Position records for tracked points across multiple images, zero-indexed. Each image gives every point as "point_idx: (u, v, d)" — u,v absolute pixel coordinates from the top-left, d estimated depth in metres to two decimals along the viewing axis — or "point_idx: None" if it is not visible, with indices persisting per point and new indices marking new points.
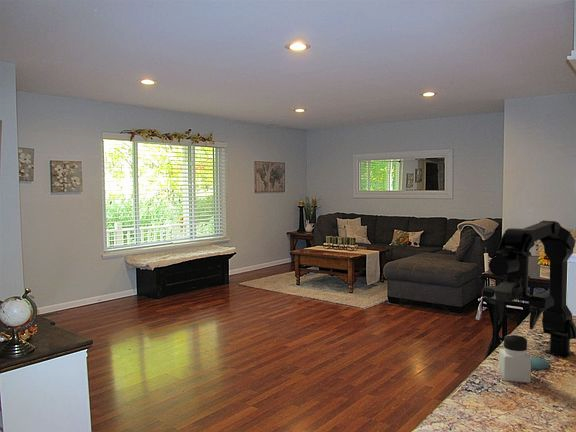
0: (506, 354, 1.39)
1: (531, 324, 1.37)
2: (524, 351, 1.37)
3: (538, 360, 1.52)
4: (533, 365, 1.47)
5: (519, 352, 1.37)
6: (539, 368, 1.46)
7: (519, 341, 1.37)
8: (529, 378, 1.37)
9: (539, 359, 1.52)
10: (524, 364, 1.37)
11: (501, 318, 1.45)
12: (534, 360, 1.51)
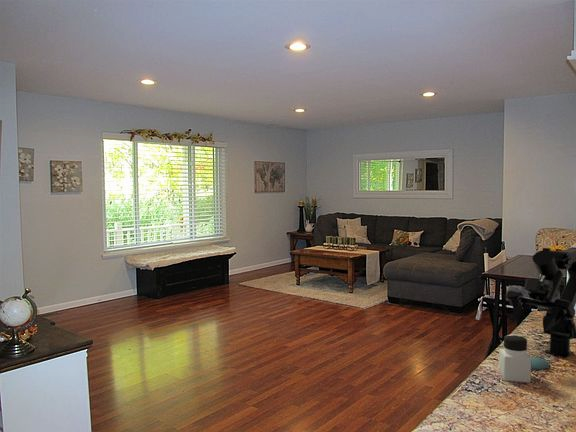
0: (506, 354, 1.39)
1: (547, 324, 1.41)
2: (524, 351, 1.37)
3: (538, 360, 1.52)
4: (533, 365, 1.47)
5: (519, 352, 1.37)
6: (539, 368, 1.46)
7: (519, 341, 1.37)
8: (529, 378, 1.37)
9: (539, 359, 1.52)
10: (524, 364, 1.37)
11: (515, 320, 1.48)
12: (534, 360, 1.51)
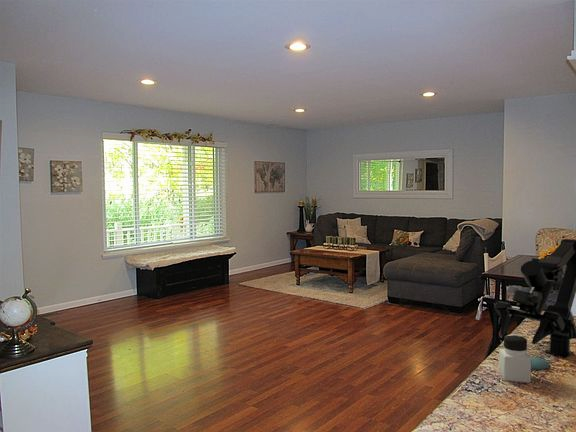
0: (506, 354, 1.39)
1: (535, 337, 1.37)
2: (524, 351, 1.37)
3: (538, 360, 1.52)
4: (533, 365, 1.47)
5: (519, 352, 1.37)
6: (539, 368, 1.46)
7: (519, 341, 1.37)
8: (529, 378, 1.37)
9: (539, 359, 1.52)
10: (524, 364, 1.37)
11: (504, 332, 1.44)
12: (534, 360, 1.51)
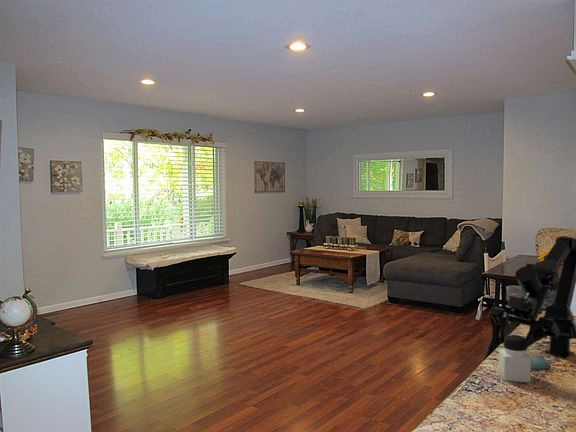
0: (506, 354, 1.39)
1: (525, 342, 1.36)
2: (524, 351, 1.37)
3: (538, 360, 1.52)
4: (533, 365, 1.47)
5: (519, 352, 1.37)
6: (539, 368, 1.46)
7: (519, 341, 1.37)
8: (529, 378, 1.37)
9: (539, 359, 1.52)
10: (524, 364, 1.37)
11: (503, 340, 1.42)
12: (534, 360, 1.51)
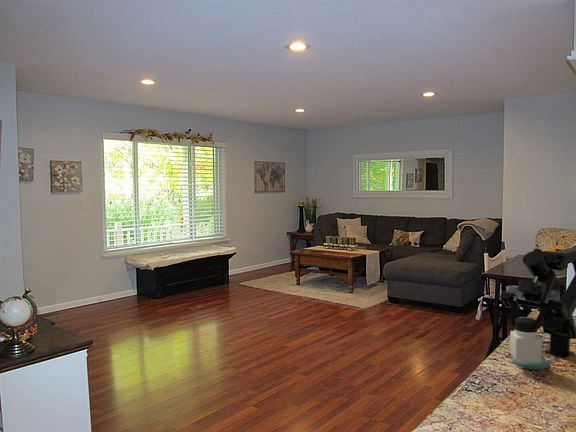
0: (517, 336, 1.45)
1: (535, 324, 1.42)
2: (535, 332, 1.43)
3: None
4: (533, 365, 1.47)
5: (530, 333, 1.43)
6: (539, 368, 1.46)
7: (529, 323, 1.43)
8: (540, 358, 1.42)
9: None
10: (535, 345, 1.42)
11: (514, 322, 1.48)
12: None
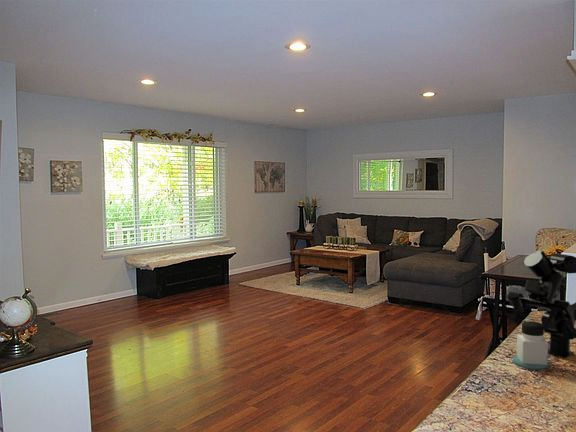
0: (524, 339, 1.49)
1: (546, 324, 1.46)
2: (541, 336, 1.48)
3: None
4: (533, 365, 1.47)
5: (536, 337, 1.48)
6: (539, 368, 1.46)
7: (536, 327, 1.48)
8: (546, 361, 1.47)
9: None
10: (541, 348, 1.47)
11: (516, 320, 1.53)
12: None
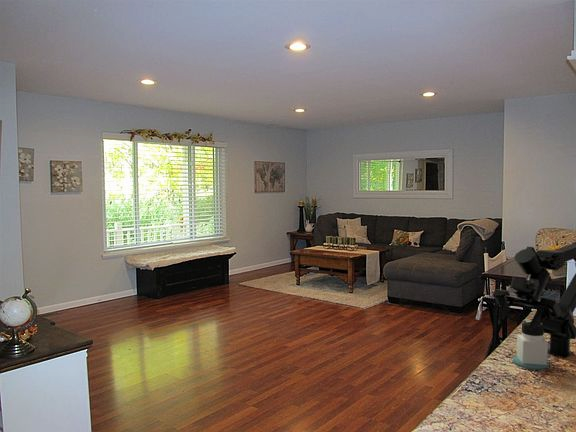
0: (524, 339, 1.49)
1: (532, 323, 1.40)
2: (541, 336, 1.48)
3: None
4: (533, 365, 1.47)
5: (536, 337, 1.48)
6: (539, 368, 1.46)
7: (536, 327, 1.48)
8: (546, 361, 1.47)
9: None
10: (541, 348, 1.47)
11: (501, 319, 1.48)
12: None
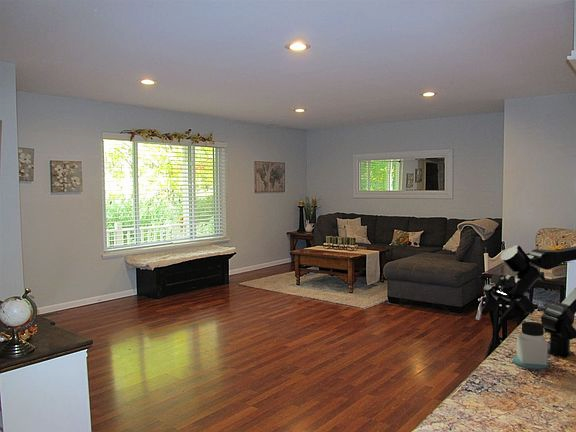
0: (524, 339, 1.49)
1: (503, 316, 1.48)
2: (541, 336, 1.48)
3: None
4: (533, 365, 1.47)
5: (536, 337, 1.48)
6: (539, 368, 1.46)
7: (536, 327, 1.48)
8: (546, 361, 1.47)
9: None
10: (541, 348, 1.47)
11: (484, 312, 1.57)
12: None
